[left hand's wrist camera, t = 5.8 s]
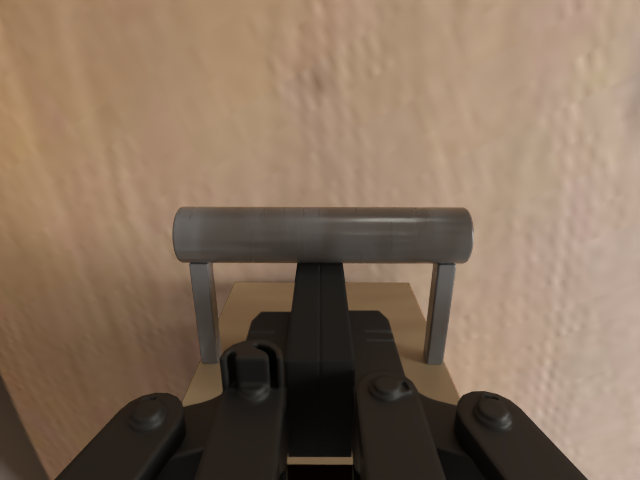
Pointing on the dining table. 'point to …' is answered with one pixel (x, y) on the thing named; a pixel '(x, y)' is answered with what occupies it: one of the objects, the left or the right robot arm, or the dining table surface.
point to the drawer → (345, 247)
